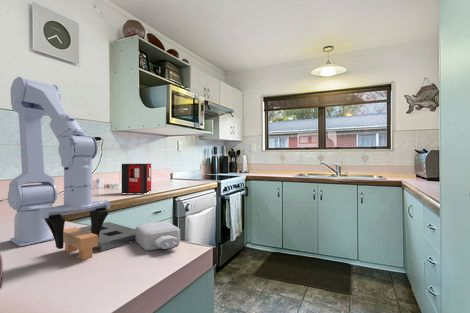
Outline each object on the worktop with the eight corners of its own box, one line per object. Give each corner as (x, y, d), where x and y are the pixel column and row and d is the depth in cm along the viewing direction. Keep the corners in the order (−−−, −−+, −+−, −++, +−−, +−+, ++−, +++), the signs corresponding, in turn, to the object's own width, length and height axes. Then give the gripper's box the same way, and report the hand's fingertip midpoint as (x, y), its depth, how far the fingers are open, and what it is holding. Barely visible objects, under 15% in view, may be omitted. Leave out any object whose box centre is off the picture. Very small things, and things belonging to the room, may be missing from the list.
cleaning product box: (151, 192, 177) (151, 163, 177) (146, 194, 168) (146, 163, 168) (127, 192, 177) (127, 163, 177) (121, 194, 168) (121, 163, 168)
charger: (152, 260, 57) (135, 242, 70) (190, 251, 63) (168, 236, 75) (152, 239, 57) (135, 225, 70) (190, 232, 63) (168, 220, 75)
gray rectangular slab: (67, 237, 74) (67, 230, 74) (108, 228, 84) (108, 221, 84) (101, 251, 62) (101, 243, 62) (144, 239, 72) (144, 232, 72)
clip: (59, 250, 63) (59, 230, 63) (75, 246, 66) (75, 227, 66) (81, 262, 56) (81, 239, 56) (97, 257, 59) (97, 235, 59)
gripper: (48, 190, 53) (48, 256, 53) (116, 184, 65) (116, 238, 64) (36, 188, 57) (36, 249, 57) (102, 183, 69) (102, 234, 69)
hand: (78, 243), depth 61 cm, fingers open, 7 cm apart
